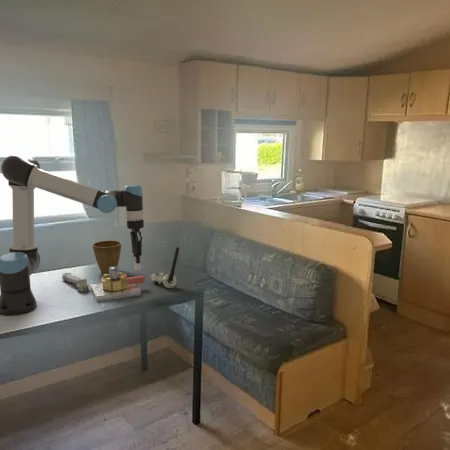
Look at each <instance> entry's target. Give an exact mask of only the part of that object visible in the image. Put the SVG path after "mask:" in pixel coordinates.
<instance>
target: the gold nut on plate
mask: <svg viewBox="0 0 450 450" xmlns="http://www.w3.org/2000/svg"><path fill="white" fill-rule="evenodd" d="M119 272H120V267H119V266H117V267H116V266H114V267H110V268H109V276H110V278H112V281H117V280H119ZM89 291H91V293H92V296H93V298H94V300H95V302H103V301H104V302H105V301H110V300H111V301H112V300H118V299H125V298H131V297H139V296H141V295H142V294H141V293H142V292H141V291H142V290H141V289H140V288H139V286H138V284H133V285H128V287H127V288H125V289H122V290H117V291H113V290H112V291H107V290H103V289H102V286H101V282H99V283H93V284H89Z"/></svg>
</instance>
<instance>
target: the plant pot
mask: <svg viewBox="0 0 450 450" xmlns="http://www.w3.org/2000/svg"><path fill="white" fill-rule="evenodd" d="M92 248H93V252H94V253H93V254H94V256H95V260H96V263H97V265H98V268H99V270H100V272H101V274H103V275H104V274H109V268H110V267H114V266H116V267H119V262H120V258H121V250H122V242H121V241H120V240H114V239H113V240H109V239H108V240H101V241H96V242H94V243H92Z"/></svg>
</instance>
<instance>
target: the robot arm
mask: <svg viewBox="0 0 450 450" xmlns="http://www.w3.org/2000/svg"><path fill="white" fill-rule="evenodd" d="M0 169H1V170H0V171H1V174H2V176H3V177H4V178H5V180H7V181H8V184H7V185H8V186H9V187H10V189H12V195H11V196H12V243H11V244H10V245H9V246H8V250H9V251H8V253H5V254H2V255H1V256H0V315H2V316H3V315H4V316H17V315H23V314H27V313H30V312H32V311H34V310H35V309H36V308H37V306H38V305H37V300H36V298H35V296H34V294H33V292H32V288H31V277H30V276H31V275H33V273H35V272H36V271H37V269H38V268H39V266H40V263H41V255H40V253H39V251H38V250H39V249H38V244H37V243H35V189H36V188H37V189H39V190H42V191H46V192H48V193H51V194H54V195H57V196H60V197H62V198H65V199H68V200H71V201H75V202H77V203H80V204H83V205H86V206H89V207H92V208H95V209H96V210H97V209H98V210H99V211H100V212H101V213H104V214H110V213H112V212H113V211H115V210H116V208H121V207H122V208H123V207H124V208H126V209H125V213H126V215H125V216H126V219H127V220H126V227H127V229H129V230H131V231H130V232H129V235H130V241H131V243H130V244H131V250H132V251H131V252H132V254H133V256H132V257H133V266H134V271H139V270H142V263H141V259H142V258H141V256H142V255H143V254H142V252H143V251H142V248H143V247H142V246H143V243H142V241H143V240H142V239H143V236H142V232H141V229H143V228H144V226H145V222H144V214H145V211H144V202H143V200H144V199H143V188H142V186H141V185H139V184H128V185H125V187H124V189H120V190H119V189H117V190H113V189H112V190H99V189H96V188H94V187H91V186H88V185H85V184H83V183H80V182H77V181H74V180H72V179H69V178H65V177H62V176H60V175H57V174H54V173H52V172H49V171H45V170H44V169H41V165H40V162H39V161H38V159H37V158H36V157H35V156H33V155H31V154H27V153H18V154H12V155H9V156H6V158H4V160H3V161H2V164H1V168H0Z"/></svg>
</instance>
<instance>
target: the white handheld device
mask: <svg viewBox="0 0 450 450" xmlns="http://www.w3.org/2000/svg"><path fill="white" fill-rule="evenodd" d="M61 278H62V280H63V281H65V282H69V283H73V284H76V287H77V291H78V292H79V293H80V292H82V293H83V292H84V293H85V292H88V291H90V284H89V283H88V280H87V278H86V277H82V278H81V277H80V276H79V277H78V276H76V275H74V274H72V273H71V272H65V273H63V274H62V276H61Z"/></svg>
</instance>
